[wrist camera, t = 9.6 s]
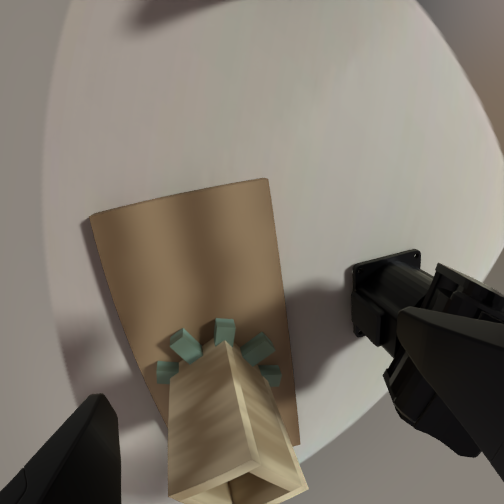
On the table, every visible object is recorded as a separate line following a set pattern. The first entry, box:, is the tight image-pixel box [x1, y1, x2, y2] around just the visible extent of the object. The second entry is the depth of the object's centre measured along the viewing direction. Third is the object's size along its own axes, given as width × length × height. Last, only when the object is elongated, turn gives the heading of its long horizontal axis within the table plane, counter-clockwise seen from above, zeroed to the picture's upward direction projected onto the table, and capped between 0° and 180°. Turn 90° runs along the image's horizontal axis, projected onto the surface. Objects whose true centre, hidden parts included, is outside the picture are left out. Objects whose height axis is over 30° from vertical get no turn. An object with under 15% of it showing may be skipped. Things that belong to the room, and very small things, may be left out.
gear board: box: [89, 178, 300, 447], centre depth 22 cm, size 11×25×1 cm, turn 9°
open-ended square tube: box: [156, 318, 309, 504], centre depth 17 cm, size 9×9×11 cm
